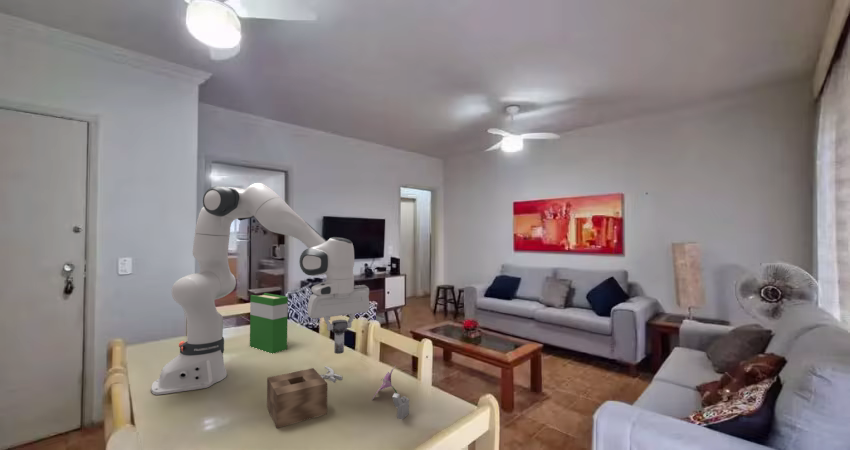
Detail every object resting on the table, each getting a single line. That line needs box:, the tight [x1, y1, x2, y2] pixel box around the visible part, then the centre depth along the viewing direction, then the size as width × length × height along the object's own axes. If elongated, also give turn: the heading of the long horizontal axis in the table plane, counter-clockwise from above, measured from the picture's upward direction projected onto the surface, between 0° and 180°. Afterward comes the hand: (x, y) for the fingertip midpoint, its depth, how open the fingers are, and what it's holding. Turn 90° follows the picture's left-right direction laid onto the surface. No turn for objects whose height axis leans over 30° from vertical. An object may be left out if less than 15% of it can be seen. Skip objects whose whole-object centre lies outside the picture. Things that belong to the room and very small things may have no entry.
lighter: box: [391, 392, 410, 421], centre depth 102 cm, size 7×2×8 cm, turn 154°
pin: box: [331, 319, 348, 355], centre depth 116 cm, size 5×5×10 cm
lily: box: [371, 365, 399, 401], centre depth 116 cm, size 12×12×10 cm
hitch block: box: [266, 367, 328, 429], centre depth 106 cm, size 14×14×9 cm
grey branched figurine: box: [319, 365, 343, 384], centre depth 132 cm, size 10×2×15 cm
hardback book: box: [249, 292, 289, 355], centre depth 164 cm, size 18×7×24 cm, turn 57°
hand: (339, 328), depth 116 cm, fingers closed on pin, 5 cm apart
